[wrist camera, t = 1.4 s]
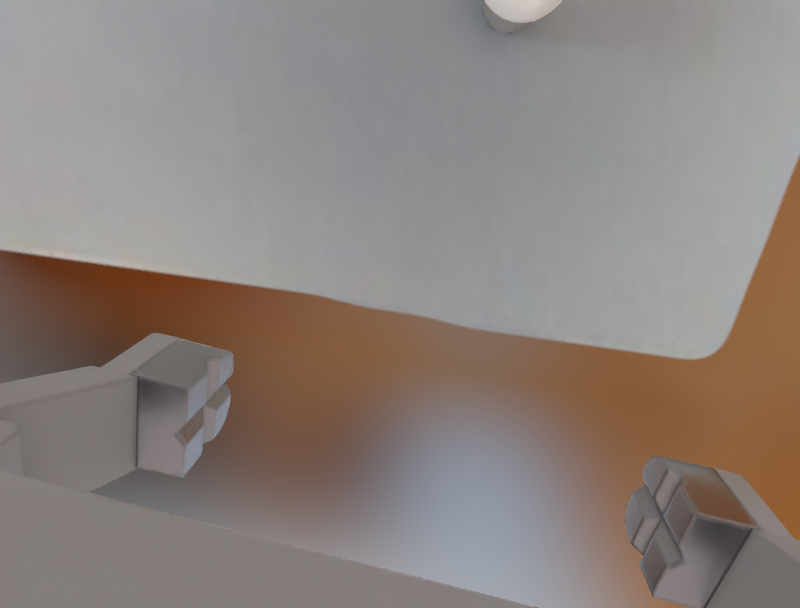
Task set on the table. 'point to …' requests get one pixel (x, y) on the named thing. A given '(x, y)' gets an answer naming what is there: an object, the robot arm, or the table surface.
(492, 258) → the table surface
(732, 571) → the robot arm
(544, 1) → the milkshake
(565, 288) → the table surface
